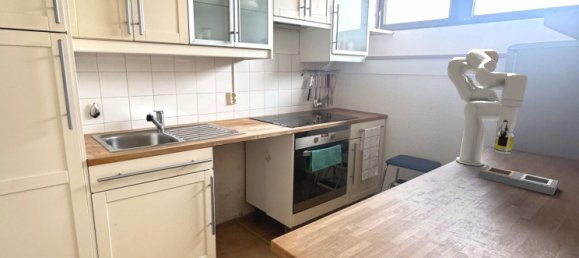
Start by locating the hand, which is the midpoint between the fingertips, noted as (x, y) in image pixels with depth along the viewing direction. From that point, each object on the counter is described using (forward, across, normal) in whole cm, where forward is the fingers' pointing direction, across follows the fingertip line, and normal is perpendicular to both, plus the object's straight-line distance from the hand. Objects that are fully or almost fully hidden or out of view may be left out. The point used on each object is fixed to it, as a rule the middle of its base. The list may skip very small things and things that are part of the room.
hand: (503, 144), depth 139 cm
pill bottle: (+4, 0, 0) cm, 4 cm away
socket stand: (+15, +1, +7) cm, 17 cm away
